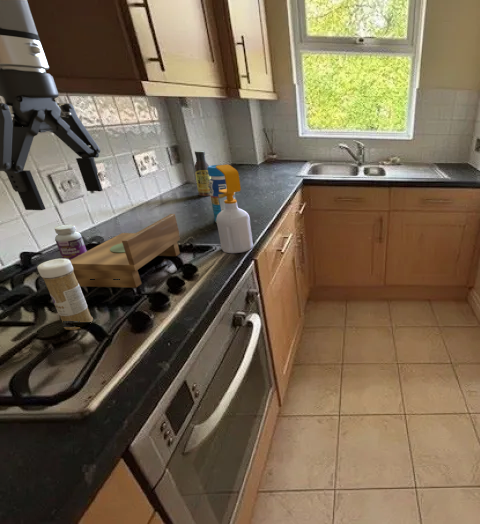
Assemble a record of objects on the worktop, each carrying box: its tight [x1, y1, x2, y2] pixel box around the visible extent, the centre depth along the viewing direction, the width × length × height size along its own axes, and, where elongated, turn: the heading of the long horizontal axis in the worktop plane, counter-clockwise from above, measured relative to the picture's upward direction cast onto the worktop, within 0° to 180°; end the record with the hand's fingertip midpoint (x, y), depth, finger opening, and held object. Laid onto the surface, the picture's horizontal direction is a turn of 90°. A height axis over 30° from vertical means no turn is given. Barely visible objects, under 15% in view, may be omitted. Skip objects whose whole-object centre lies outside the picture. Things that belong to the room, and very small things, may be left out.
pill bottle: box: [54, 224, 88, 260], centre depth 88 cm, size 5×5×10 cm
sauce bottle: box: [194, 150, 211, 197], centre depth 152 cm, size 6×6×20 cm
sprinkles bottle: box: [36, 258, 94, 331], centre depth 62 cm, size 5×5×14 cm
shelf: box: [70, 213, 181, 289], centre depth 85 cm, size 16×20×12 cm
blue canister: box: [207, 164, 236, 224], centre depth 119 cm, size 8×8×20 cm
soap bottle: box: [216, 164, 254, 254], centre depth 96 cm, size 9×9×25 cm
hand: (68, 199), depth 63 cm, fingers open, 13 cm apart
